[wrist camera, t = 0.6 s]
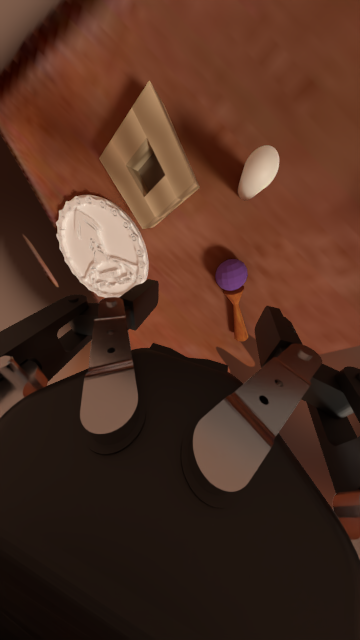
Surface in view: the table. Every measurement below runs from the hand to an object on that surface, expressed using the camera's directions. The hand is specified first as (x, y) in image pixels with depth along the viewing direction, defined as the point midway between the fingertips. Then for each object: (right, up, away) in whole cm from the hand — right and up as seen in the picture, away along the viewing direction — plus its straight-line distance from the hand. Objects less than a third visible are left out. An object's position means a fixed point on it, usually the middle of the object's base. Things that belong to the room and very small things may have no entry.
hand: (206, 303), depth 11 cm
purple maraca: (+11, +4, +24) cm, 27 cm away
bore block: (-6, +24, +15) cm, 29 cm away
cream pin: (+9, +20, +13) cm, 26 cm away
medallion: (-20, +14, +28) cm, 37 cm away
